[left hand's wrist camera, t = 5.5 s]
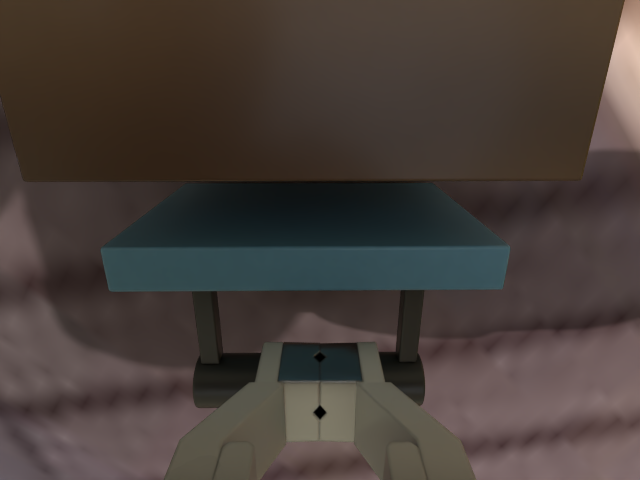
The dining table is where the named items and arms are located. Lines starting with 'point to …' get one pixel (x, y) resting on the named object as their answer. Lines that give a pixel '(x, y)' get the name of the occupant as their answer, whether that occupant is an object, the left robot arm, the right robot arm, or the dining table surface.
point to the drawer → (304, 259)
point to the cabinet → (304, 88)
